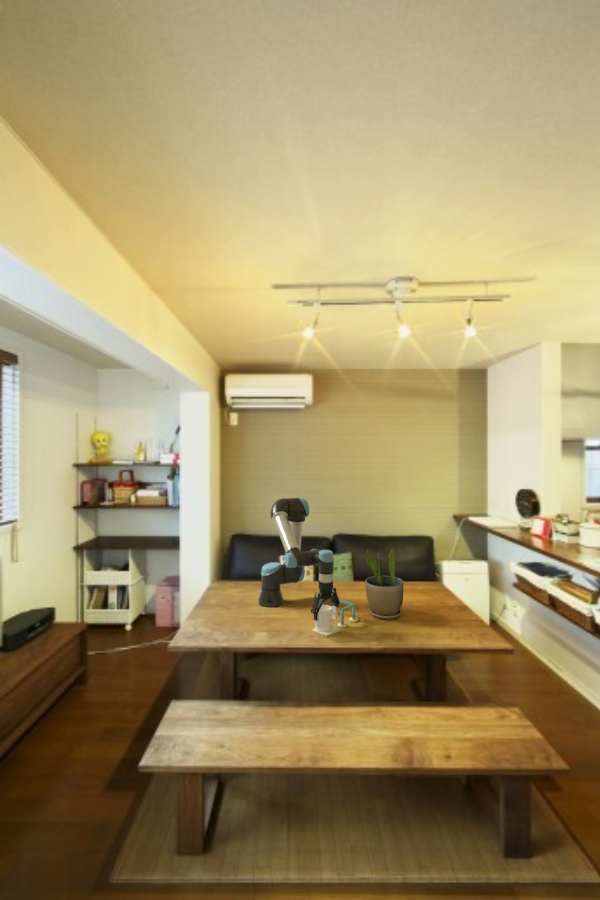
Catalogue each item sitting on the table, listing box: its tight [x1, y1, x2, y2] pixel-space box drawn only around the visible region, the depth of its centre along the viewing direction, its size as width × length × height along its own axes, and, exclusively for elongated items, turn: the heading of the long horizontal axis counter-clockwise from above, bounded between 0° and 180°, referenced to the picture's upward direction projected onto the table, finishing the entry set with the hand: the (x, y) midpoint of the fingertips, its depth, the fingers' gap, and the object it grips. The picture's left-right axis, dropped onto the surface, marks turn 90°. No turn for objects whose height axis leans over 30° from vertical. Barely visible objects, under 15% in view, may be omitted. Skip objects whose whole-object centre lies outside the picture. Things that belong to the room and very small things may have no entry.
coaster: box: [311, 626, 340, 638], centre depth 209 cm, size 10×10×1 cm
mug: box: [314, 604, 339, 632], centre depth 209 cm, size 9×12×11 cm
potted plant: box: [365, 548, 404, 620], centre depth 231 cm, size 21×22×40 cm
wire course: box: [332, 598, 359, 629], centre depth 224 cm, size 19×15×9 cm
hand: (325, 622), depth 209 cm, fingers open, 13 cm apart
